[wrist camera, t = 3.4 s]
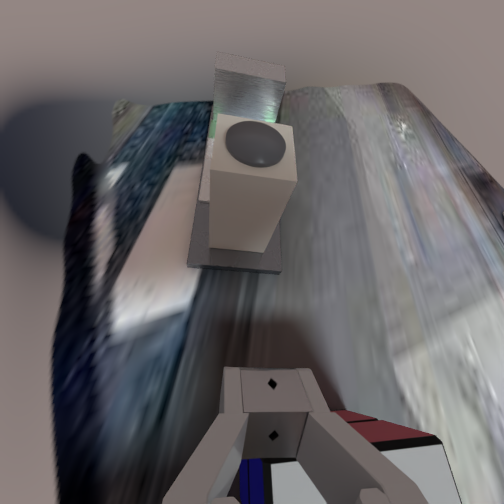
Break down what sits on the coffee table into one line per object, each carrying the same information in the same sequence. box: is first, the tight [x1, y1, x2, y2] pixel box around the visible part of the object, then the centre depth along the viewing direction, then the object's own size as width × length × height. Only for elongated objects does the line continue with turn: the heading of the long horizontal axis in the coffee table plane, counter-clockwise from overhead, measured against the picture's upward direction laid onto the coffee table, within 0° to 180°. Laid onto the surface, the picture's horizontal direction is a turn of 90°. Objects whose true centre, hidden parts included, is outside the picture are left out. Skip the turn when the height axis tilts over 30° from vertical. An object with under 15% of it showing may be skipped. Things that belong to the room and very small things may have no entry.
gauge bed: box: [187, 52, 286, 275], centre depth 28 cm, size 27×10×8 cm, turn 179°
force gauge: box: [209, 113, 298, 253], centre depth 22 cm, size 9×6×11 cm, turn 179°
